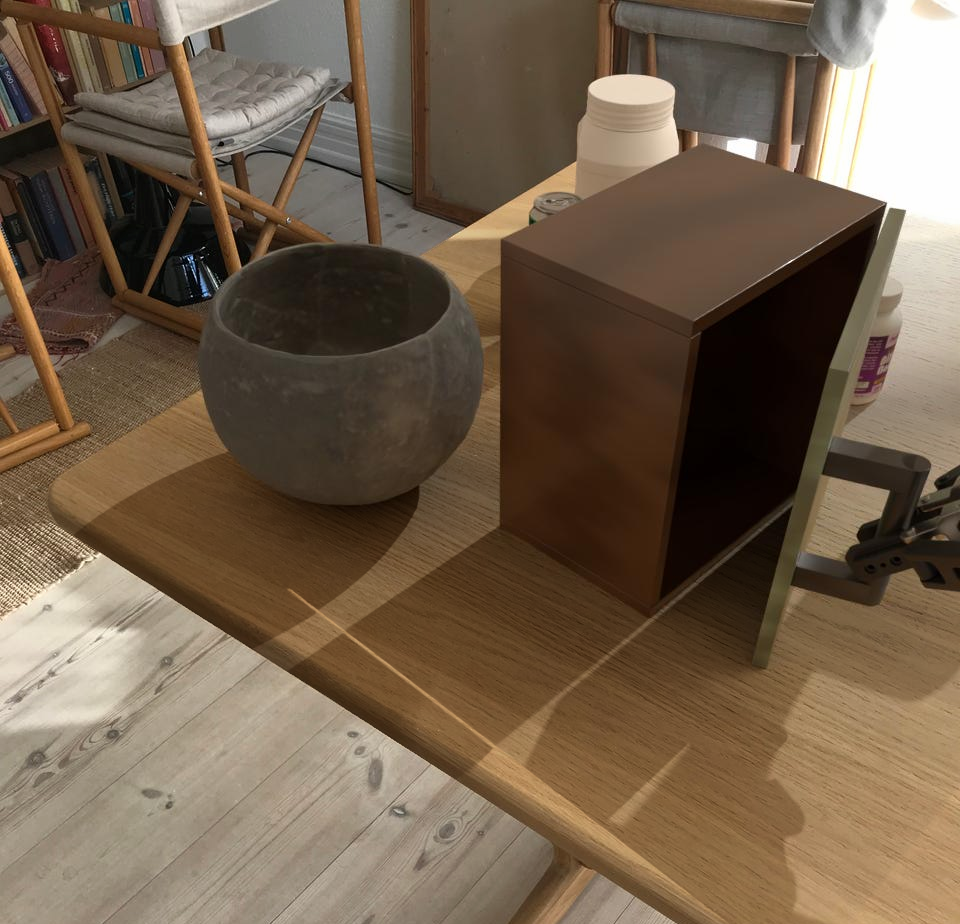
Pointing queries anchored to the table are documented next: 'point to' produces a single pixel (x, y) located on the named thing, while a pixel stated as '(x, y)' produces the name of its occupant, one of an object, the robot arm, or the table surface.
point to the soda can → (551, 204)
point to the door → (844, 466)
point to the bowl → (340, 370)
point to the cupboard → (670, 363)
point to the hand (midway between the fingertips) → (859, 554)
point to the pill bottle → (880, 344)
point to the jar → (624, 131)
